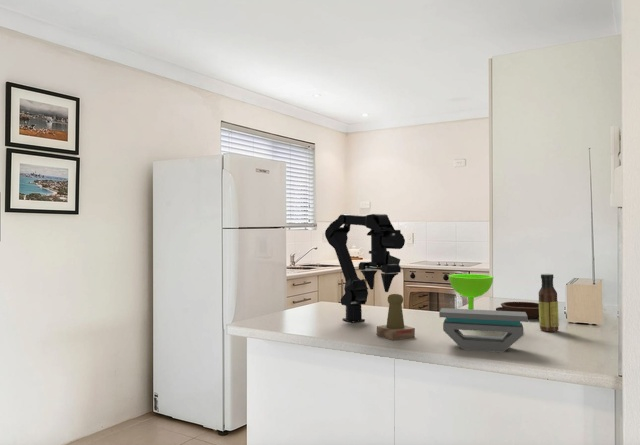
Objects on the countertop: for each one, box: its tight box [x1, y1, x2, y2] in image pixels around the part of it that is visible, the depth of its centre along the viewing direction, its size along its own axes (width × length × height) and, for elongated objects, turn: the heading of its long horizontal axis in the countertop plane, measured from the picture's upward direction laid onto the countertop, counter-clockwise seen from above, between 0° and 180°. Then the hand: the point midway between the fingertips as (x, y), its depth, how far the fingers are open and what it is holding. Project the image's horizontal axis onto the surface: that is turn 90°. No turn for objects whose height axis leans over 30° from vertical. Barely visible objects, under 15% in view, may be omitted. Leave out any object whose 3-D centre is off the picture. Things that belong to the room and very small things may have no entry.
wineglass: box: [448, 273, 494, 310], centre depth 195 cm, size 16×16×18 cm
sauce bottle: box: [538, 273, 560, 333], centre depth 184 cm, size 7×6×20 cm
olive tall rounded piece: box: [385, 293, 405, 329], centre depth 175 cm, size 6×6×11 cm
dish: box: [495, 301, 539, 320], centre depth 212 cm, size 17×22×5 cm
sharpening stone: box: [439, 307, 529, 353], centre depth 159 cm, size 25×8×11 cm, turn 73°
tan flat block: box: [376, 324, 416, 341], centre depth 175 cm, size 9×9×3 cm
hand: (379, 290), depth 192 cm, fingers open, 9 cm apart
